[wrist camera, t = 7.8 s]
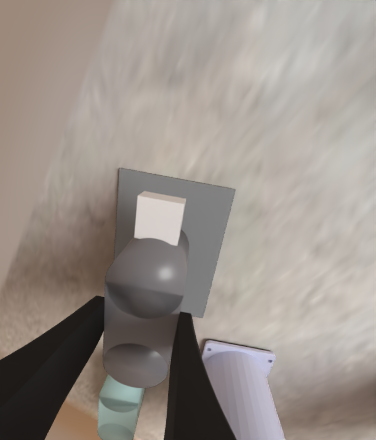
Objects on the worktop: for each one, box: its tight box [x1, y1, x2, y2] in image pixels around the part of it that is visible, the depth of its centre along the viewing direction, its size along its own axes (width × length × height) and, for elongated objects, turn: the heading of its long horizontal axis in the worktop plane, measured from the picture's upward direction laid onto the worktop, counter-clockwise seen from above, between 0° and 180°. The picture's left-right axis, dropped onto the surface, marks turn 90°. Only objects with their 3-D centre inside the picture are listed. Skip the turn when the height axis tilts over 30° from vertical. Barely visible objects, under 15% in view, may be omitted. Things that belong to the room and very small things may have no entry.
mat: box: [114, 168, 235, 318], centre depth 18 cm, size 14×10×1 cm
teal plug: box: [98, 374, 145, 440], centre depth 22 cm, size 12×4×4 cm, turn 170°
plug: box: [103, 191, 189, 388], centre depth 12 cm, size 12×4×4 cm, turn 170°
